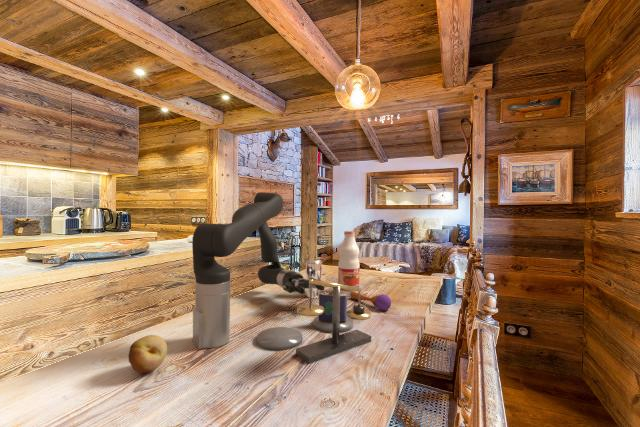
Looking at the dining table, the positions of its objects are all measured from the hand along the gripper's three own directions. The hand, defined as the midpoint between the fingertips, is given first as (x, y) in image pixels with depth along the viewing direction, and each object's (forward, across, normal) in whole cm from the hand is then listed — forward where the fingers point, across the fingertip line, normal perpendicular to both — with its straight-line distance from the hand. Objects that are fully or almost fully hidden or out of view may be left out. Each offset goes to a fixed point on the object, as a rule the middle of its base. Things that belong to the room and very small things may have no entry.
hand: (314, 289), depth 110 cm
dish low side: (+11, 0, +9) cm, 14 cm away
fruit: (+8, -53, +9) cm, 54 cm away
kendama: (+3, +26, +10) cm, 28 cm away
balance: (+24, -10, +9) cm, 27 cm away
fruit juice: (-13, +29, +10) cm, 33 cm away
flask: (+11, 0, +8) cm, 14 cm away
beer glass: (-19, +14, +10) cm, 26 cm away
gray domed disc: (+11, -20, +9) cm, 25 cm away
